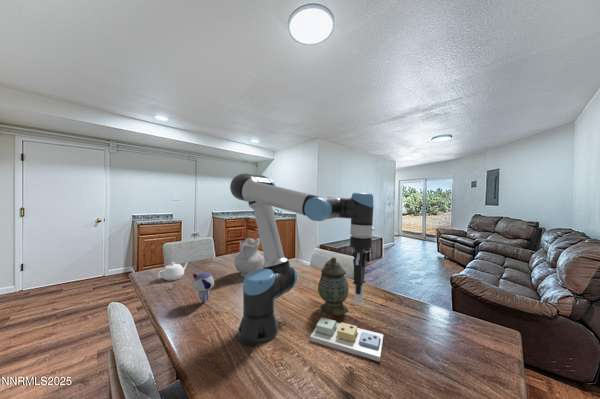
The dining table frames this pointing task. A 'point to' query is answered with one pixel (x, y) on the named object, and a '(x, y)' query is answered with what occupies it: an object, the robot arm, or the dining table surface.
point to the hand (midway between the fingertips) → (358, 301)
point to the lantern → (333, 288)
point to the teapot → (172, 272)
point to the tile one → (326, 326)
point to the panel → (349, 343)
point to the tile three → (370, 340)
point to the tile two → (347, 332)
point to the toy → (203, 285)
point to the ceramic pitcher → (249, 257)
